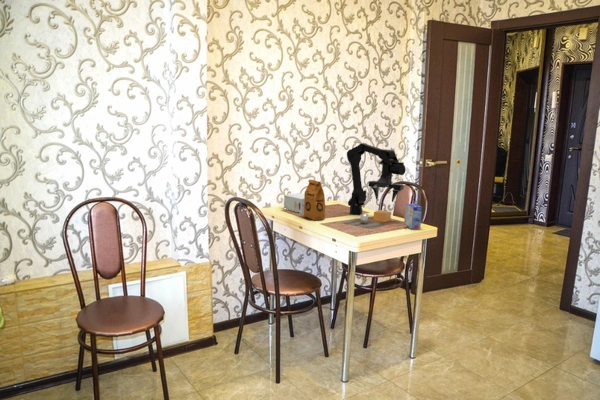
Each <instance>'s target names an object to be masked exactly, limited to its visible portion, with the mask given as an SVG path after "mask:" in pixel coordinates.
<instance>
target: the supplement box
mask: <svg viewBox="0 0 600 400" xmlns="http://www.w3.org/2000/svg"><path fill="white" fill-rule="evenodd" d="M283 195H284V196H283V197H284V198H283V209H284V208H286V209H289V210H288V211H290V210H292V211H291V212H293V211H295V212H294V213H297V212H299V214H304V193H300V192H299V193H289V194H283ZM286 209H285V210H286Z"/></svg>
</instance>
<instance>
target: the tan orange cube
mask: <svg viewBox="0 0 600 400" xmlns="http://www.w3.org/2000/svg"><path fill="white" fill-rule="evenodd" d="M391 217H392V211H388V210H383V209H380V210H379V209H378V210H374V212H373V221H374V222H380V223H386V222H389V221H391Z"/></svg>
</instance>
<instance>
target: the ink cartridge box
mask: <svg viewBox="0 0 600 400" xmlns="http://www.w3.org/2000/svg"><path fill="white" fill-rule="evenodd" d="M418 203H419V201H418V200H414V201H413V203H405V209H404V221H403V225H405V226H406V227H407V228H408V229H410V230H421V224H422V223H421V222H422V214H423V213H422V212H423V206H420V205H419V204H418Z"/></svg>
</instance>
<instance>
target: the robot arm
mask: <svg viewBox="0 0 600 400" xmlns="http://www.w3.org/2000/svg"><path fill="white" fill-rule="evenodd" d="M365 153H369V154H372V155H374V156H377V157H378V158H379V159H380V160H381V161H379V162H378V164H379V165H381V174H380V175H379V179H377V180H370V181H369V182H368V185H367V186H368V187H370V189H372V191H373V193H374V196H375V200H378V199H379V190H380V188H383V189H385V188H388V189H389V188H390V189H393V190H392V196H391V202H392V203H393V202H394V201H395V199H396V197H397V195H398V193H400V192H401V191H402V190H404V188H405V187H404V184H402V183H394V184H393V176H394V175H399V176H404V175H405V173H406V170H407V169H406V165H405V163H404V162H399V161H400V160H399V158H398V157H397V155H396V152H395V151H394V150H393V149H386V148H385V149H384V148H380V147H376V146H374V145H371V144H369V143H367V142H365V143H364V142H363V143H359V144H358V145H356V146H355V147H352V148H351V149H348V150H347V152H346V157H347V161H348V163H349V164H350V169H351V177H352V185H353V186H352V188H353V190H352V192H351V198H350V199H349V201H347V205H348V206H349V214H351V215H352V216H353V215H354V216H357V215H358V216H361V214H363V206H365V203H366V201H367V197H368V196H367V191H366V190H364V189H363V185H362V177H361V168H360V167H361V166H360V163H361V161H362V156H363V155H364V154H365Z"/></svg>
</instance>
